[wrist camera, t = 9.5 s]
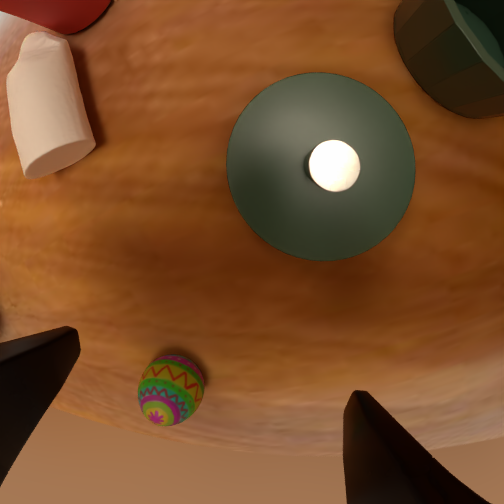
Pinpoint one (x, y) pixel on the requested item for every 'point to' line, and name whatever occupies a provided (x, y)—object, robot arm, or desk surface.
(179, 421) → the egg
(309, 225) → the bin lid
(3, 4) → the beer can
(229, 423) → the desk surface
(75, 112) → the white bottle
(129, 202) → the desk surface
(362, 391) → the robot arm
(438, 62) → the bin
